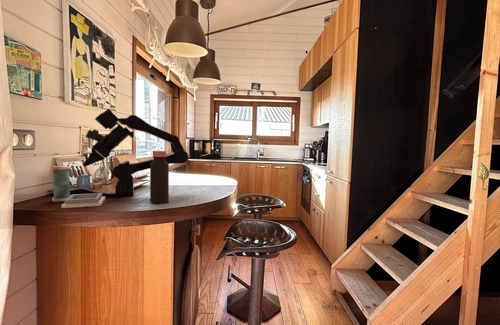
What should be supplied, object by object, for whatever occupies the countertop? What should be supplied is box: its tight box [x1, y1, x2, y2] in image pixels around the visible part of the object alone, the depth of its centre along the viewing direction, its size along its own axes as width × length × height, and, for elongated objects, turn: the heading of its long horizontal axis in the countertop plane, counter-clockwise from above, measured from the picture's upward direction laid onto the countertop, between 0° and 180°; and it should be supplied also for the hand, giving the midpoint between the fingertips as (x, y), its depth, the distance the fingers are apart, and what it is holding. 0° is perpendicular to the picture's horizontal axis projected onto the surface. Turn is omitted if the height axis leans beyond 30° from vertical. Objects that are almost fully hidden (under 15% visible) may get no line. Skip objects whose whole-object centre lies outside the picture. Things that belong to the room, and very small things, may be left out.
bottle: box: [149, 150, 170, 205], centre depth 99 cm, size 7×7×20 cm
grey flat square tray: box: [61, 192, 106, 209], centre depth 95 cm, size 12×12×2 cm
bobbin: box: [50, 165, 72, 203], centre depth 99 cm, size 6×6×13 cm
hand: (84, 164), depth 102 cm, fingers open, 9 cm apart
